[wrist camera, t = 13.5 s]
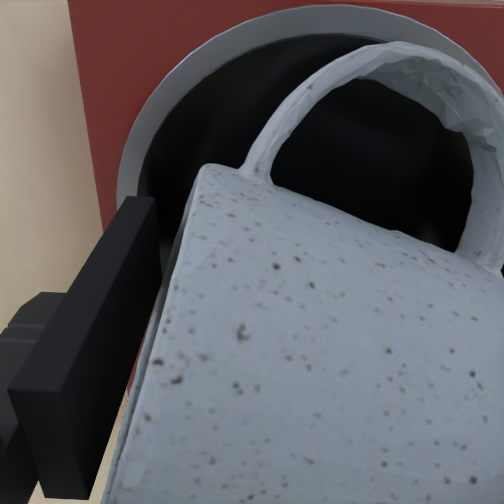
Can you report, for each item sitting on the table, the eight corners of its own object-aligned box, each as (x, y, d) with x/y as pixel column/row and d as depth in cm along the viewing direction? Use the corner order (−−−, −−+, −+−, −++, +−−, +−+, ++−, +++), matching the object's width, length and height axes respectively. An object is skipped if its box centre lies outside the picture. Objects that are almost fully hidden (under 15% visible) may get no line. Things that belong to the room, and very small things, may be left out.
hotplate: (714, 9, 13) (829, 19, 10) (497, 441, 23) (527, 502, 21) (103, -17, 13) (61, -13, 11) (154, 424, 24) (140, 483, 21)
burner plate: (594, 14, 11) (605, 15, 10) (457, 373, 17) (461, 381, 17) (90, -8, 11) (84, -7, 10) (138, 358, 17) (135, 366, 17)
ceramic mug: (375, 400, 16) (453, 695, 9) (145, 339, 15) (49, 629, 8) (577, 105, 11) (1069, 304, 4) (245, -23, 10) (204, -28, 3)
